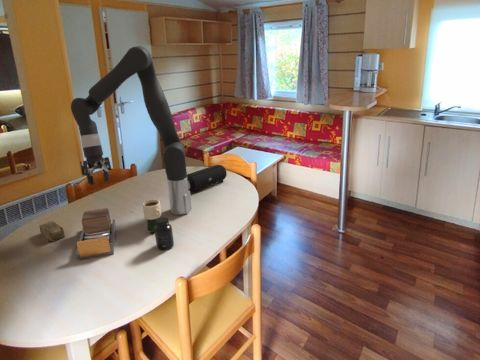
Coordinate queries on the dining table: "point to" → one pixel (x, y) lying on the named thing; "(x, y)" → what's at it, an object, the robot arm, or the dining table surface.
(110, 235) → the roller track
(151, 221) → the character mug
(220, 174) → the portable speaker
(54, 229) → the stone block
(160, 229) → the supplement bottle
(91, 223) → the brown wooden block
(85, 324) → the dining table surface
